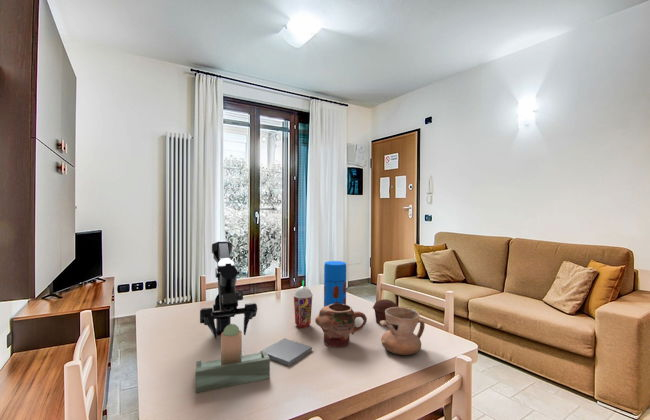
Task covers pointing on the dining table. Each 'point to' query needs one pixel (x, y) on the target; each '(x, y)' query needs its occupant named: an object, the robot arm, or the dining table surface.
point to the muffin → (382, 309)
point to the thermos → (334, 282)
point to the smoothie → (303, 306)
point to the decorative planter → (338, 323)
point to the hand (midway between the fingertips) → (230, 336)
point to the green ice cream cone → (231, 345)
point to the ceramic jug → (402, 331)
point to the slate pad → (287, 351)
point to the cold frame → (232, 372)
